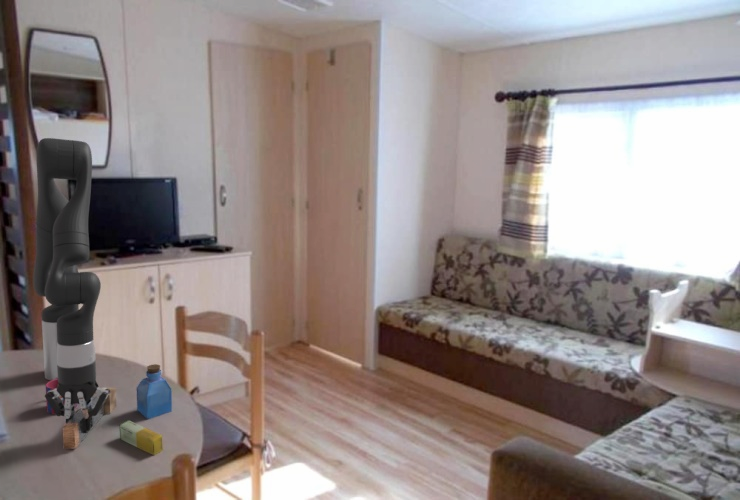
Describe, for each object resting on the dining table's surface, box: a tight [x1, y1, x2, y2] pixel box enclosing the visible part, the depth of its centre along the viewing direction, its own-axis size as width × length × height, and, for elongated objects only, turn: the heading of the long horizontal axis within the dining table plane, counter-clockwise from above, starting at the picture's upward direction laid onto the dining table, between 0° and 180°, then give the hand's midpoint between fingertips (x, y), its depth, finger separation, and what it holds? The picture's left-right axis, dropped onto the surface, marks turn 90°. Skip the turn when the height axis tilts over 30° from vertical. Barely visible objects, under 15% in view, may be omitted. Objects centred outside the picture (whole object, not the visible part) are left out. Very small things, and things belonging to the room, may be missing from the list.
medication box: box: [119, 419, 164, 456], centre depth 118 cm, size 12×3×4 cm, turn 60°
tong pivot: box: [94, 387, 117, 415], centre depth 132 cm, size 4×5×6 cm
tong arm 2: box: [69, 397, 105, 450], centre depth 122 cm, size 16×1×5 cm, turn 6°
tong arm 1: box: [62, 395, 97, 450], centre depth 122 cm, size 16×1×5 cm, turn 7°
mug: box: [45, 377, 78, 415], centre depth 134 cm, size 7×10×7 cm
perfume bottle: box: [136, 363, 173, 420], centre depth 133 cm, size 6×6×12 cm
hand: (79, 431), depth 119 cm, fingers open, 2 cm apart
